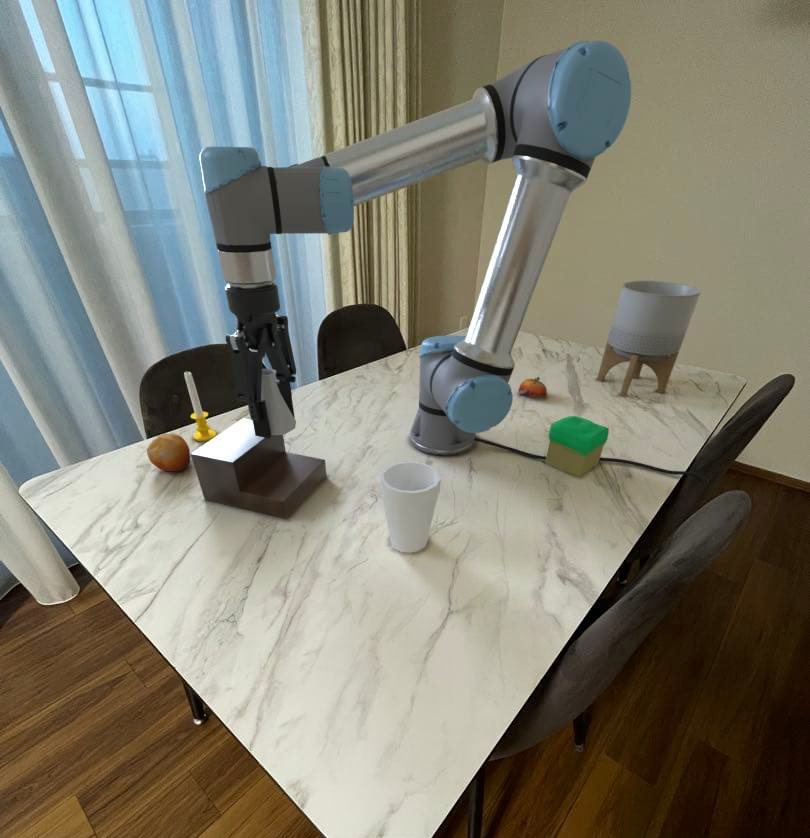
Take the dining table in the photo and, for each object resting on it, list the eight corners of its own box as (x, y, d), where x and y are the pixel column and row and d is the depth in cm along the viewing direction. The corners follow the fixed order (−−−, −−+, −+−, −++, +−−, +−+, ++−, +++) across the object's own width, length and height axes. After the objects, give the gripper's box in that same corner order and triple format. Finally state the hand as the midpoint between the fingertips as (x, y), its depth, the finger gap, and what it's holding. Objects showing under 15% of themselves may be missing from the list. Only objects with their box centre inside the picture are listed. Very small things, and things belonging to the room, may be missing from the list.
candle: (221, 436, 111) (204, 370, 101) (200, 443, 108) (180, 376, 98) (210, 429, 114) (192, 364, 104) (189, 436, 111) (169, 370, 101)
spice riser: (326, 476, 97) (321, 432, 91) (286, 519, 86) (277, 472, 79) (252, 461, 102) (242, 418, 96) (204, 500, 90) (190, 453, 84)
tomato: (551, 397, 127) (537, 375, 125) (529, 412, 130) (515, 391, 128) (548, 390, 134) (534, 369, 132) (527, 405, 137) (513, 385, 135)
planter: (669, 382, 141) (705, 285, 124) (657, 403, 128) (695, 299, 112) (605, 370, 148) (631, 277, 132) (588, 389, 136) (614, 289, 119)
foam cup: (380, 525, 84) (379, 462, 76) (431, 523, 85) (435, 460, 77) (383, 560, 77) (381, 494, 69) (439, 557, 78) (444, 492, 70)
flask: (287, 439, 80) (277, 381, 74) (248, 434, 82) (235, 377, 75) (302, 421, 86) (295, 366, 80) (265, 417, 87) (255, 363, 81)
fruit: (206, 451, 102) (184, 430, 95) (190, 483, 100) (167, 464, 92) (175, 445, 104) (152, 424, 97) (159, 476, 102) (134, 457, 94)
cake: (559, 446, 108) (569, 405, 102) (602, 463, 102) (616, 420, 96) (536, 461, 103) (545, 418, 97) (580, 479, 97) (592, 435, 91)
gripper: (266, 269, 78) (286, 402, 92) (183, 294, 63) (223, 448, 77) (306, 272, 76) (321, 408, 90) (230, 299, 61) (262, 456, 75)
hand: (275, 426), depth 84 cm, fingers closed on flask, 7 cm apart
